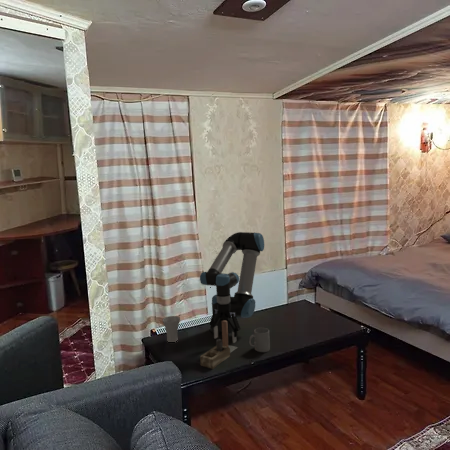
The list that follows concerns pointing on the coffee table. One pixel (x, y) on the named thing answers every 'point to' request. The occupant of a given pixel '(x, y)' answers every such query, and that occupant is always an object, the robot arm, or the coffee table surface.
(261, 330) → the mug
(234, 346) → the mat
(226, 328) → the dowel
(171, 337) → the cup
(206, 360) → the socket block
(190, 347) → the coffee table surface
